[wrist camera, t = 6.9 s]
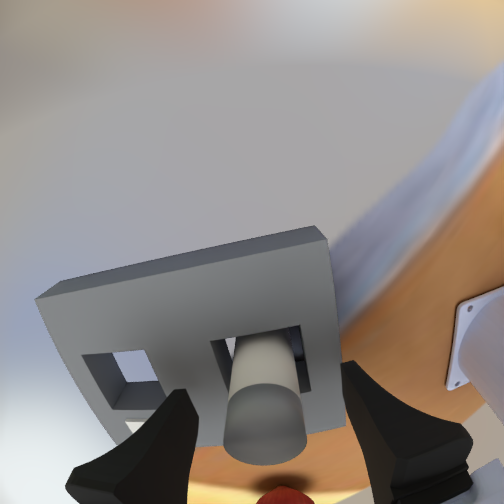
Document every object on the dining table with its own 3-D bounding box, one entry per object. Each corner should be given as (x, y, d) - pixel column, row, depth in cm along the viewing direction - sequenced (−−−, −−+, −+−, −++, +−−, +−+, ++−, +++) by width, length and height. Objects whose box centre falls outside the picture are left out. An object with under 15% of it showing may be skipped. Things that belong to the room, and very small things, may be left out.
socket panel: (314, 225, 16) (328, 240, 13) (337, 395, 19) (346, 429, 16) (60, 281, 17) (31, 301, 14) (128, 418, 20) (115, 447, 17)
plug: (285, 310, 17) (302, 412, 9) (293, 355, 18) (310, 459, 10) (230, 319, 17) (213, 423, 10) (242, 363, 18) (234, 468, 11)
